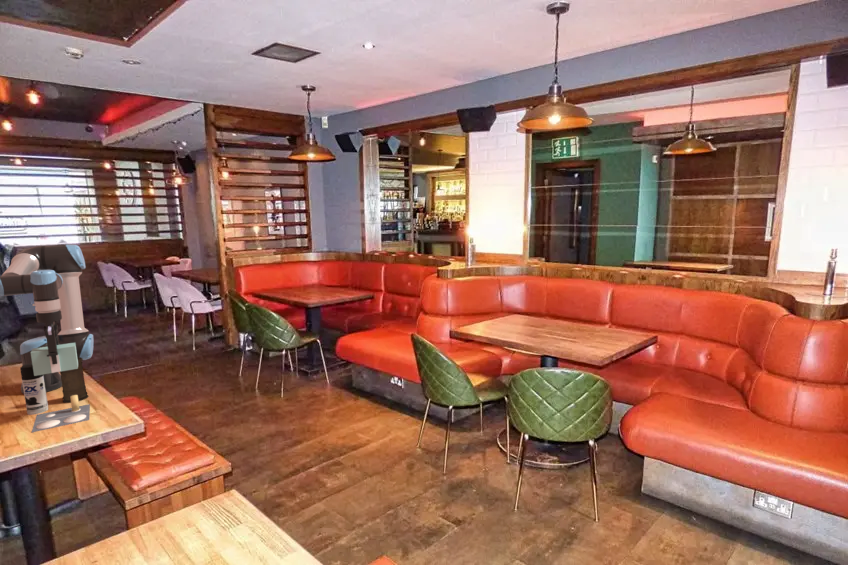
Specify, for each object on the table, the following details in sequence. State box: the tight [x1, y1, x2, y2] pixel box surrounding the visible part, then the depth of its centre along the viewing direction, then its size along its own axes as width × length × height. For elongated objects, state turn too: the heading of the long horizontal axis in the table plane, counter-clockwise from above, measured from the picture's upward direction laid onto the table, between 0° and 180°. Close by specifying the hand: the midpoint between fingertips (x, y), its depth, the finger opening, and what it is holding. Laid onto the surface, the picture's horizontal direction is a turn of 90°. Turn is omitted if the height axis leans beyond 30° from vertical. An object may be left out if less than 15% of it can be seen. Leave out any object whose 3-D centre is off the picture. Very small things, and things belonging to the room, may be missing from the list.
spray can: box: [19, 363, 49, 416], centre depth 187 cm, size 7×7×20 cm
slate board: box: [31, 395, 91, 433], centre depth 181 cm, size 18×17×7 cm
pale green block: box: [31, 343, 78, 376], centre depth 182 cm, size 7×13×9 cm, turn 124°
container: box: [59, 357, 89, 404], centre depth 199 cm, size 9×9×18 cm
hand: (56, 369), depth 183 cm, fingers closed on pale green block, 7 cm apart
